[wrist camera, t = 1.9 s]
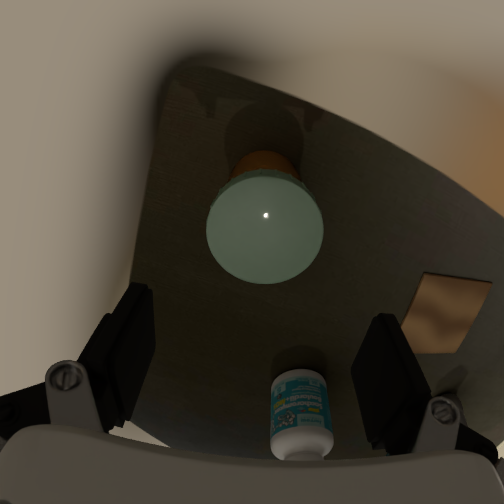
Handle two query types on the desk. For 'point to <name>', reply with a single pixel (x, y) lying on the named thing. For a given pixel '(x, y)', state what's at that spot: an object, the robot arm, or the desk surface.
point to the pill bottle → (300, 416)
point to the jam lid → (264, 226)
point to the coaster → (442, 312)
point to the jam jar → (264, 164)
